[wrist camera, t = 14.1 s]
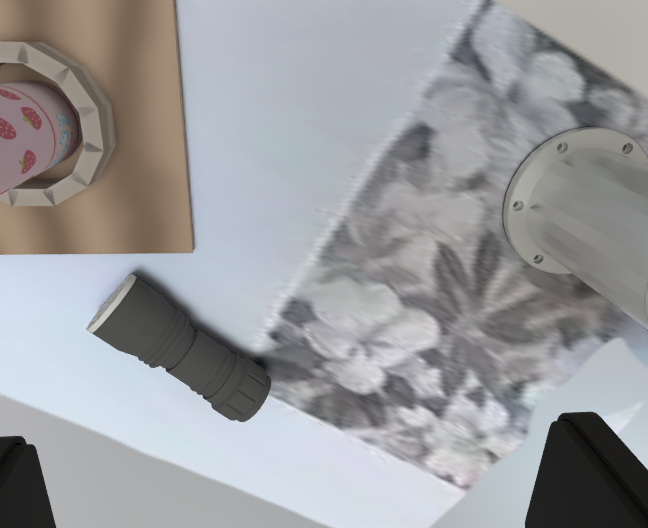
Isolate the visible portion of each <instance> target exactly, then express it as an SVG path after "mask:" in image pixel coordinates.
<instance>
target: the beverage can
mask: <svg viewBox="0 0 648 528" xmlns="http://www.w3.org/2000/svg"><path fill="white" fill-rule="evenodd" d="M81 137H82V128H81V122H80V116H79V113H78V111H77V109H76V108H75V107H74V105H73V104H72V103H71V101H70V100H69V99H68V97H67V96H66V95H65V94H64V93H63V92H62V91H60V90H59V89H57V88H55V87H54V86H52V85H49V84H47V83H44V82H40V81H35V80H24V81H17V82H10V83H3V84H0V195H1V194H3V193H5V192H6V191H8V190H10V189H12V188H14V187H16V186H18V185H19V184H21V183H23V182H25V181H27V180H29V179H31V178H32V177H34V176H36V175H38V174H40V173H42V172H44V171H45V170H47V169H49V168H51V167H53V166H55V165H57V164H58V163H60V162H62V161H64V160H66V159H68V158H69V157H70V156H71V155H72V154H74V152H75V151H76V150H77V148H78V147H79V144H80V141H81Z"/></svg>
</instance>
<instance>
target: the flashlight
mask: <svg viewBox="0 0 648 528" xmlns="http://www.w3.org/2000/svg"><path fill="white" fill-rule="evenodd" d="M189 325H190V320H189V318H188V317H187V316H184V314H183V313H179V311H178V310H177V309H173V308H172V306H171V305H170V304H169V303H168V302H167V301H166V299H165V298H164V297H163V296H162V295H161V294H160V293H158V292H157V291H155V290H154V289H153V288H151V287H150V286H148V285H147V284H145V283H144V282H143V281H141V280H140V279H138V278H137V277H136V276H134V275H133V274H130V275H129V276H128V277H127V278H126V279H125V280H124V281H123V282H122V283H121V284H120V285H119V287H118V288H117V289H116V290H115V291H114V292H113V293H112V294H111V296H110V297H109V298H108V299H107V301H106V302H105V303H104V304H103V306H102V307H101V308H100V309H99V311H98V312H97V313H96V315H95V316H94V318H93V319H92V321H91V322H90V324H89V325H88V327H87V329H86V330H87V331H89V332H91V333H93V334H94V335H95V336H97V337H99V338H100V339H102V340H103V341H105V342H106V343H108V344H109V345H111V346H113V347H114V348H116V349H117V350H119V351H122V352H125V353H128V354H131V355H134V356H137V357H138V359H139V360H140V361H144V363H145V364H149V366H150V367H151V368H156V367H158V366H162V367H163V368H166V372H168V373H170V374H171V375H173V376H174V377H176V378H177V379H179V380H180V381H182V382H183V383H185V384H186V385H188V386H190V388H191V390H192V391H196V392H197V394H198V395H203V398H204V399H205V400H207V401H208V402H210V403H211V405H212V408H213V409H214V410H216V411H217V412H219V413H220V414H222V415H223V416H225V417H226V418H228V419H230V420H238V421H239V422H245V421H247V420H249V419H250V418H251V417H253V416H254V415H255V414H256V413H257V411H258V410H259V409H260V408H261V406H262V405H263V403H264V402H265V400H266V398H267V396H268V394H269V391H270V387H271V379H270V377H269V376H267V375H266V372H265V370H264V369H263V368H262V367H260V366H259V365H257V364H256V363H254V362H253V361H252V360H250V359H249V358H247V357H245V358H242V357H240V356H239V355H237V354H236V353H231V351H230V349H226V347H225V346H223V345H219V344H218V343H216V342H215V341H213V340H212V339H211V338H209V337H208V336H206V335H205V334H203V333H202V332H201V331H199V330H198V329H195V330H193V328H192V327H191V326H189Z"/></svg>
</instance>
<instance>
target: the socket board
mask: <svg viewBox="0 0 648 528" xmlns="http://www.w3.org/2000/svg"><path fill="white" fill-rule="evenodd" d="M24 80H35V81H40V82H44V83H47V84H49V85H52V86H54V87H55V88H57V89H59V90H60V91H62V92H63V93H64V94H65V95H66V96H67V97H68V99H69V100H70V101H71V103H72V104H73V105H74V107H75V108H76V109H77V111H78V113H79V116H80V122H81V128H82V137H81V141H80V144H79V147H78V148H77V150H76V151H75V152H74V154H72V155H71V156H70V157H69V158H68V159H66V160H64V161H62V162H60V163H58V164H57V165H55V166H53V167H51V168H49V169H47V170H45V171H44V172H42V173H40V174H38V175H36V176H34V177H32V178H31V179H29V180H27V181H25V182H23V183H21V184H19V185H18V186H16V187H14V188H12V189H10V190H8V191H6V192H5V193H3V194H1V195H0V255H6V254H127V253H193V250H194V238H193V225H192V213H191V200H190V187H189V174H188V161H187V148H186V135H185V122H184V109H183V96H182V83H181V70H180V57H179V45H178V32H177V19H176V6H175V0H0V84H3V83H10V82H17V81H24Z"/></svg>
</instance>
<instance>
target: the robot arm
mask: <svg viewBox="0 0 648 528" xmlns="http://www.w3.org/2000/svg"><path fill="white" fill-rule="evenodd" d="M558 145H559V147H558ZM557 147H558V148H557ZM515 202H516V204H515V205H514V203H515ZM503 221H504V227H505V233H506V235H507V238H508V240H509V243H510V244H511V246H512V247H513V249H514V250H515V252H516V253H517V254H518V255H519V256H520V257H521V258H522V259H524V260H525V261H526V262H527V263H529V264H530V265H531V266H533V267H534V268H537V269H539V270H542V271H544V272H548V273H554V274H574V275H575V276H577V277H578V278H579V279H581V280H582V281H583V282H585V283H586V284H587V285H589V286H590V287H591V288H593V289H594V290H595V291H596V292H598V293H599V294H600V295H602V296H603V297H604V298H606V299H607V300H608V301H610V302H611V303H612V304H614V305H615V306H616V307H618V308H619V309H620V310H622V311H623V312H624V313H626V314H627V315H628V316H630V317H631V318H632V319H634V320H635V321H636V322H638V323H639V324H640V325H642V326H643V327H644V328H646V329H647V330H648V157H647V155H646V153H645V151H644V150H643V149H642V148H641V146H640V145H639V144H638V143H637V142H636V141H634V140H633V139H632V138H630V137H629V136H627V135H626V134H623V133H620V132H617V131H615V130H611V129H606V128H602V127H583V128H578V129H573V130H569V131H567V132H564V133H562V134H559V135H557V136H555V137H553V138H552V139H550V140H548V141H546V142H545V143H543V144H542V145H541V146H540V147H538V148H537V149H536V150H535V151H534V152H532V153H531V154H530V155H529V157H528V158H527V159H526V160H525V161H524V162H523V163H522V165H521V166H520V168H519V169H518V171H517V172H516V174H515V176H514V177H513V179H512V181H511V184H510V186H509V188H508V191H507V194H506V198H505V203H504V212H503ZM0 528H56V525H55V521H54V517H53V513H52V510H51V505H50V502H49V497H48V494H47V490H46V486H45V482H44V478H43V474H42V470H41V466H40V462H39V458H38V455H37V450H36V448H35V446H34V445H32V444H27V443H26V441H25V439H24V438H23V437H21V436H7V437H0ZM525 528H648V470H647V469H646V468H645V466H644V465H643V464H642V463H641V462H640V461H639V460H638V459H637V457H636V456H635V455H634V454H633V453H632V452H631V451H630V450H629V449H628V447H627V446H626V445H625V444H624V443H623V442H622V441H621V439H620V438H619V437H618V436H617V435H616V434H615V433H614V432H613V430H612V429H611V428H610V427H609V426H608V425H607V424H606V423H605V421H604V420H603V419H602V418H601V417H600V416H599V415H598V414H596V413H594V412H574V413H562V414H561V415H560V416H559V418H558V420H557V421H554V422H552V424H551V426H550V428H549V432H548V436H547V440H546V444H545V448H544V451H543V455H542V459H541V463H540V466H539V471H538V474H537V478H536V482H535V485H534V490H533V493H532V497H531V501H530V505H529V509H528V512H527V516H526V520H525Z"/></svg>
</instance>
